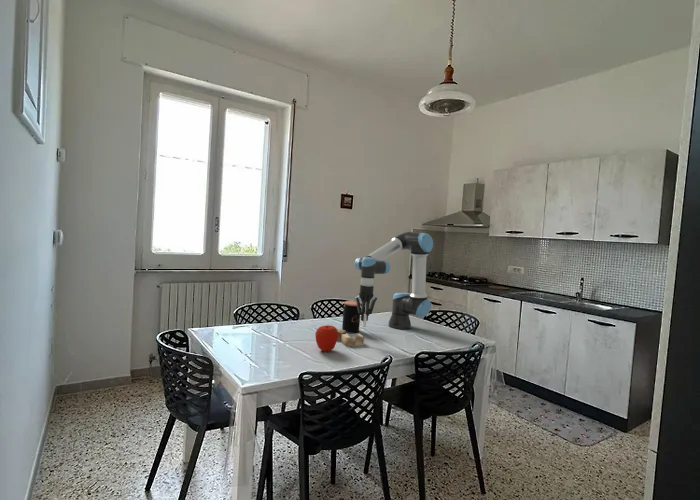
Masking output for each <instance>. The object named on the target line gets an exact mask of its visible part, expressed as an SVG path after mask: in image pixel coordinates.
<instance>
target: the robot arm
mask: <svg viewBox="0 0 700 500" xmlns="http://www.w3.org/2000/svg"><path fill="white" fill-rule="evenodd" d="M433 247H434V240H433V237H432V236H431V235H430V234H429V233H426V232H418V231H417V232H416V231H415V232H413V231H407V232H402V233H400V234H398V235H395V236H394V237H393V238H391V240H390V241H389V242H387V243H386V244H384V245H382V246H380V247H379V248H377V249H376V250H375V251H373V252H371V253H369V254H368V255H366V256H364V257H357V258H356V259H355V261H354V268H355V269H357V270H358V271H360V272H361V273H360V286H359V293H358V295H357V296H354V299H355V302H356V303H357V309H358V313H359V314H360V322H361V327H363V328H366V327H367V322H368V320H369V316H370V315H372V314H373V310H374V307H375V305H376V302H377V300H378V297H376V296H375V295H374V288H375V287H374V285H375V275H385V274H389V272H390V270H391V265H390V263H389V262H388V261H387V260H386V259H388V258H389V257H390V256H392V255H394V254H395V253H396V252H397V253H398V252H401V251H403V250H409V251H410V255H411V256H412V275H411V276H412V277H411V293H409V292H396V293H394V294H393V298H392V309H391V316H390V318H389V320H388V326H389V328H392V329H396V330H409V329H411V328H412V323H411V319H410V315H411V316H416V317H420V318H424V317H426V316H427V315H428V314H430V311H431V310H432V309H431V308H432V302H431V300H429V299H428V294H427V293H426V285H427V284H426V280H427V257H428V256H429V255H430V252H431V251H432V250H433ZM360 300H361V301H360ZM360 303H361V305H360Z"/></svg>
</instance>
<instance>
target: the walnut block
mask: <svg viewBox="0 0 700 500" xmlns="http://www.w3.org/2000/svg"><path fill="white" fill-rule="evenodd" d="M336 329H337V330H338V339H337V342H338V341H339V342H341V339H342V334H347V333H346V331H345V330H342V329H340V328H339V329H338V328H336Z"/></svg>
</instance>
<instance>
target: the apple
mask: <svg viewBox="0 0 700 500" xmlns="http://www.w3.org/2000/svg"><path fill="white" fill-rule="evenodd" d="M337 329H338V328H336V327H335V326H334V325H330V324H327V325H321V326H319V327H317V329H316V331H315V343H316V345H317V348H318V349H319V350H321V351H322V352H324V353H329V352H331V351H332V350H333V349H334V348H335V346H336V345H337V342H338V341H337V339H338V330H337Z"/></svg>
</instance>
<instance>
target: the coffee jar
mask: <svg viewBox="0 0 700 500" xmlns="http://www.w3.org/2000/svg"><path fill="white" fill-rule="evenodd" d="M343 304H344V306H343V309H342V325H341V326H342V328H341V330H345V331H346V334H358V333H359V332H360V326H361V325H360V323H361V314H359V313H358V309H357V303H356V300H355V301H354V300H353V301H352V300H345V301H343ZM360 306H362V302H360Z"/></svg>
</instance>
